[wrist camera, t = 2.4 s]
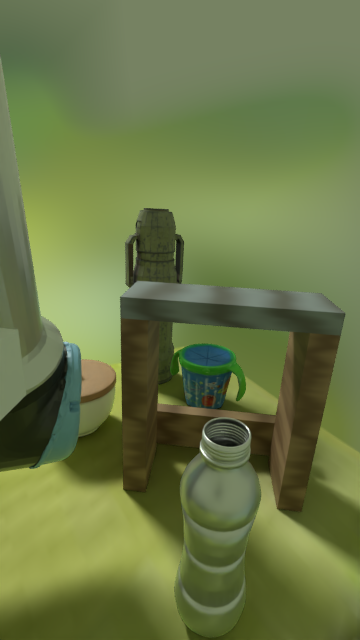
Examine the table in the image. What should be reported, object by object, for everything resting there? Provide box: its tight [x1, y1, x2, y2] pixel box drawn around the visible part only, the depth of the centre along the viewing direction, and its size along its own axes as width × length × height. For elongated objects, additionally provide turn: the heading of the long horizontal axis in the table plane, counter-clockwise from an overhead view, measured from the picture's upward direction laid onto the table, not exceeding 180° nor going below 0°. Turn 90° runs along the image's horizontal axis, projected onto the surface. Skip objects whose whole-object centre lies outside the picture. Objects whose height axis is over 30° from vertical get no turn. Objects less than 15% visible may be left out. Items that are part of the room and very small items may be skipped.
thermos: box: [125, 208, 184, 384], centre depth 67 cm, size 9×12×35 cm
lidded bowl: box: [78, 359, 116, 437], centre depth 54 cm, size 13×13×11 cm
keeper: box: [120, 281, 345, 512], centre depth 44 cm, size 23×12×26 cm, turn 84°
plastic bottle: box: [174, 417, 261, 638], centre depth 28 cm, size 6×7×20 cm
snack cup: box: [170, 344, 246, 409], centre depth 62 cm, size 16×10×10 cm
